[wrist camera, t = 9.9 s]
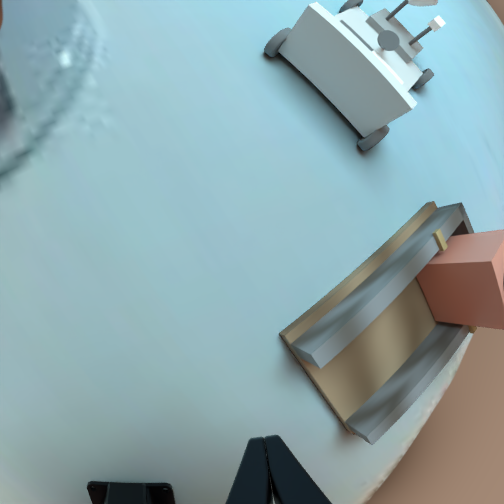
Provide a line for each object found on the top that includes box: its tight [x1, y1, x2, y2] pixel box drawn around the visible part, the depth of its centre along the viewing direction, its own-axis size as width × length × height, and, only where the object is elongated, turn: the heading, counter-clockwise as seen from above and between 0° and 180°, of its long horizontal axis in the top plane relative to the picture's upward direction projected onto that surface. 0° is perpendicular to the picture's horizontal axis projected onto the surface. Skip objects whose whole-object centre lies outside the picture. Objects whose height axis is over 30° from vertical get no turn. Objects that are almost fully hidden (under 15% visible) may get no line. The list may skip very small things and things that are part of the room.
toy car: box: [264, 0, 445, 151], centre depth 21 cm, size 18×10×12 cm
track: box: [279, 201, 477, 445], centre depth 22 cm, size 18×11×4 cm, turn 125°
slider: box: [416, 230, 504, 330], centre depth 20 cm, size 4×6×9 cm, turn 35°
